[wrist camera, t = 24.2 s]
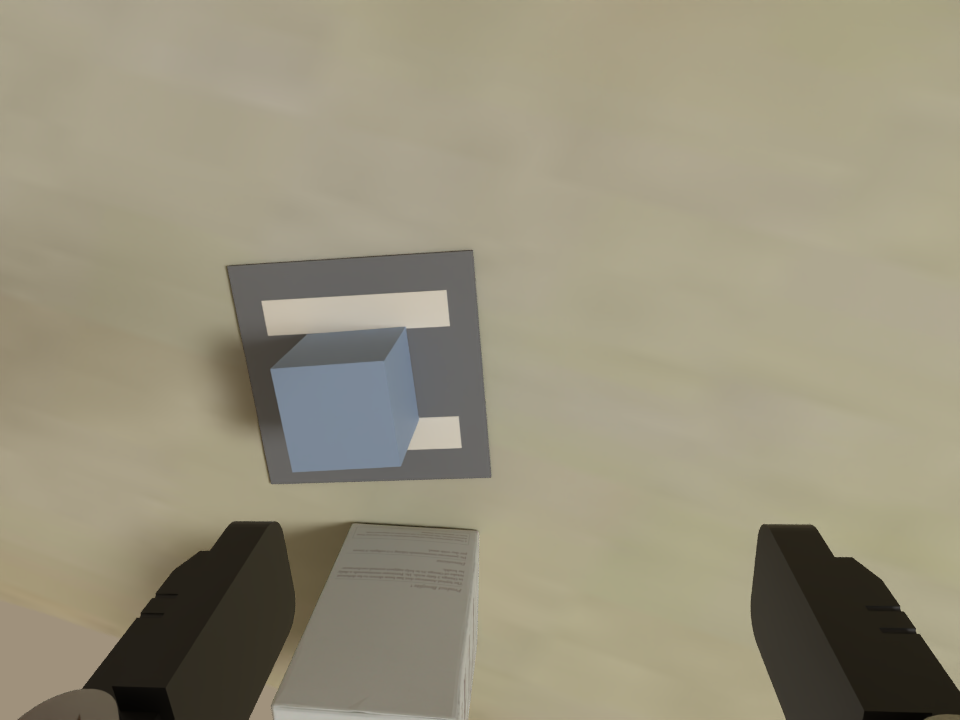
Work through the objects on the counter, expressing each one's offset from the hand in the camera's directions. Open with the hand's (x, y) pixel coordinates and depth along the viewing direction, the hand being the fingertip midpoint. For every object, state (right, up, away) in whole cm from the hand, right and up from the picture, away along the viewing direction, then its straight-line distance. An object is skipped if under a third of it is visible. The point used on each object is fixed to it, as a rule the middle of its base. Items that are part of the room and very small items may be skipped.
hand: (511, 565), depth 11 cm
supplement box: (-4, -9, +27) cm, 29 cm away
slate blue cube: (-6, +3, +23) cm, 24 cm away
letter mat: (-6, +3, +23) cm, 24 cm away
